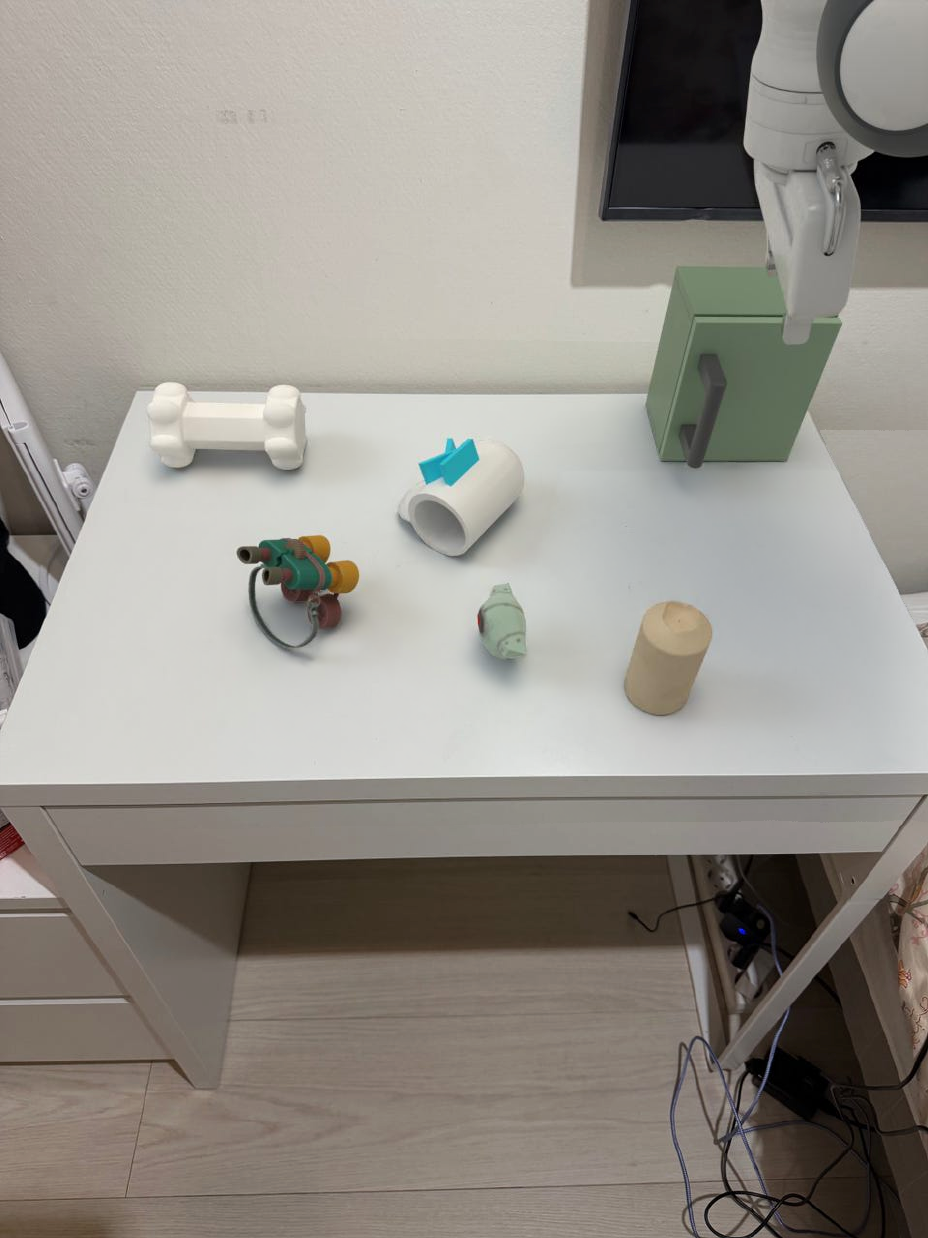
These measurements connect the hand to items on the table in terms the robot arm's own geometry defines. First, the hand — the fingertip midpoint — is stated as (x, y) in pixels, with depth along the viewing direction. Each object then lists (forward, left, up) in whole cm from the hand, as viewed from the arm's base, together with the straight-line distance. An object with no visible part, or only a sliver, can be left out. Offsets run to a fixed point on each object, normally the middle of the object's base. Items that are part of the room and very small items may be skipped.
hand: (784, 303), depth 66 cm
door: (-2, -10, -25) cm, 27 cm away
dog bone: (+50, +1, -25) cm, 56 cm away
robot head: (+17, +20, -25) cm, 37 cm away
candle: (+3, +21, -25) cm, 33 cm away
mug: (+25, +3, -25) cm, 36 cm away
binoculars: (+35, +20, -25) cm, 48 cm away
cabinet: (0, -17, -25) cm, 30 cm away
